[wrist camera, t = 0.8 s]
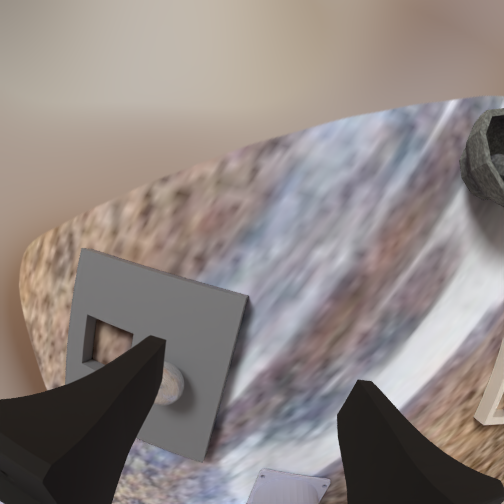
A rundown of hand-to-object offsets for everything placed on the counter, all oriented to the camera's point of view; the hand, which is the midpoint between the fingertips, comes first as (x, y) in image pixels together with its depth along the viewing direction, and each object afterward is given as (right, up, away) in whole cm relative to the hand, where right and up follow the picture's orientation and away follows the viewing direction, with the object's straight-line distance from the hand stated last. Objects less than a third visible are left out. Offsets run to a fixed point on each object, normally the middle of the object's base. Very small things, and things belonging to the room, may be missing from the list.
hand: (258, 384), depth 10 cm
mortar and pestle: (+25, +13, +15) cm, 32 cm away
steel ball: (-8, -6, +13) cm, 17 cm away
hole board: (-11, -6, +18) cm, 22 cm away
